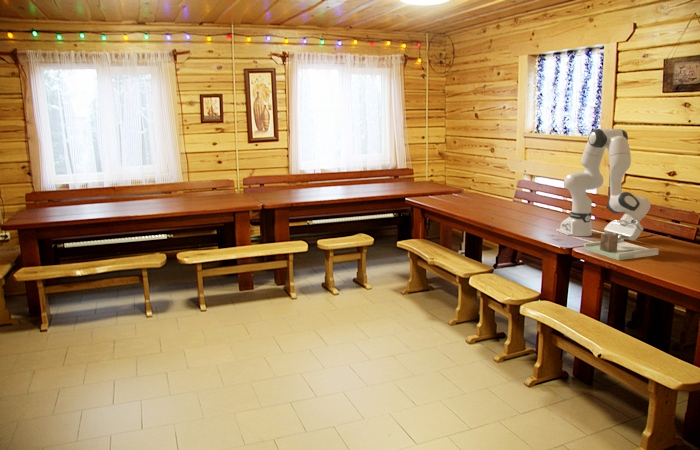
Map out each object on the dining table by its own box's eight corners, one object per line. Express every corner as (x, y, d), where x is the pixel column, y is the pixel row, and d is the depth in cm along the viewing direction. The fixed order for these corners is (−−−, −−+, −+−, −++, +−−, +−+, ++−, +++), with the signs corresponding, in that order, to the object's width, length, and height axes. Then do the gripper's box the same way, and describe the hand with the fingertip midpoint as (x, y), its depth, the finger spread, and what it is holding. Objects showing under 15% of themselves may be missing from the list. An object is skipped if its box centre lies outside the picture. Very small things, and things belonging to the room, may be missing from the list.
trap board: (583, 249, 326) (584, 243, 325) (621, 244, 336) (622, 238, 335) (618, 260, 303) (618, 253, 303) (658, 254, 313) (658, 248, 313)
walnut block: (599, 249, 317) (601, 233, 315) (608, 248, 319) (609, 232, 317) (608, 252, 311) (609, 236, 310) (616, 251, 314) (618, 235, 312)
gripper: (610, 215, 326) (595, 234, 325) (640, 222, 307) (625, 242, 306) (616, 222, 328) (601, 241, 327) (646, 230, 310) (630, 249, 308)
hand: (613, 241), depth 316 cm, fingers closed
